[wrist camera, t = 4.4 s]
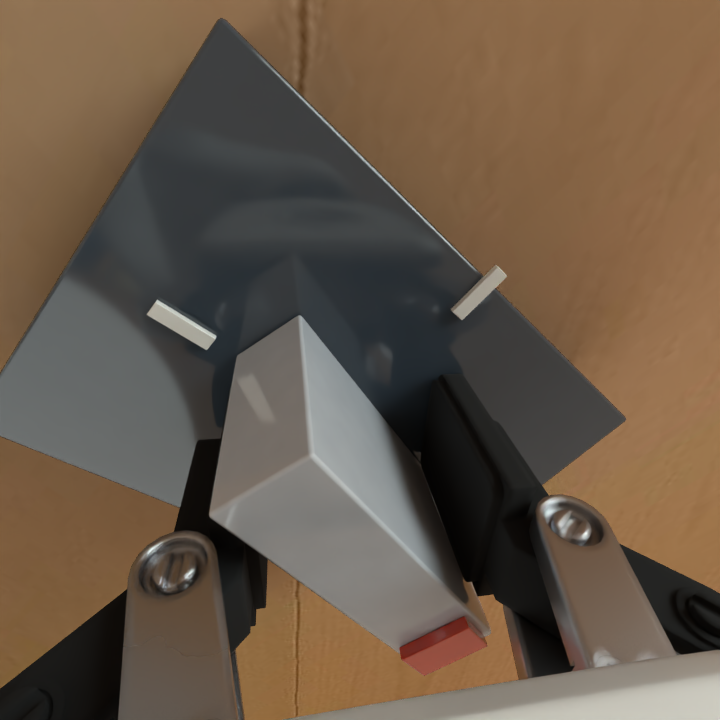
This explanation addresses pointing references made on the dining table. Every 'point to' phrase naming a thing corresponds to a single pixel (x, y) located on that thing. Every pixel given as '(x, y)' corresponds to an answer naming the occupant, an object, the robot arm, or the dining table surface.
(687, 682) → the robot arm
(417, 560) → the white rectangular bar
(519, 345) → the plate
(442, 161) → the dining table surface
